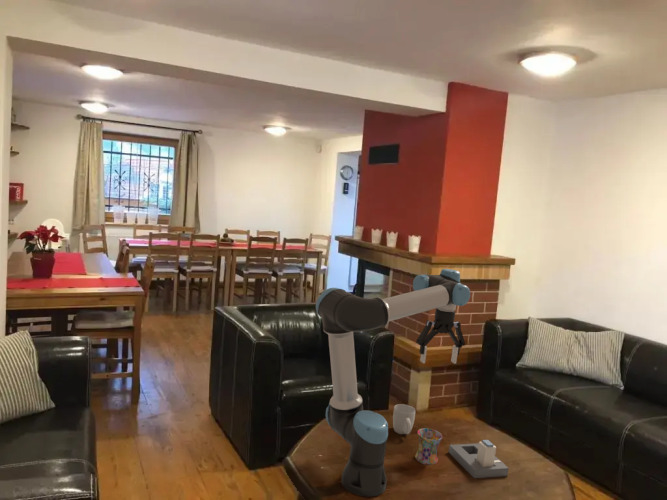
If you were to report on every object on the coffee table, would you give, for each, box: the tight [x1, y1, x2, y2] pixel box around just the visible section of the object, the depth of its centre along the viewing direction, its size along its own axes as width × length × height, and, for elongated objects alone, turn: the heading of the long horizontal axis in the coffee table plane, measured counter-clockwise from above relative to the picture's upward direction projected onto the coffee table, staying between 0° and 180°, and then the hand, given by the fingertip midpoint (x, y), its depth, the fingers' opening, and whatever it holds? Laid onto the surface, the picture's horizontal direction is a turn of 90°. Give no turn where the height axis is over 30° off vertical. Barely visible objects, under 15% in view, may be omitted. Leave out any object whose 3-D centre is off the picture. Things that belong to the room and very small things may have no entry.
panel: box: [448, 442, 510, 479], centre depth 194 cm, size 14×18×4 cm
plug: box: [476, 439, 497, 467], centre depth 189 cm, size 4×4×11 cm
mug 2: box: [414, 427, 443, 466], centre depth 195 cm, size 12×9×11 cm
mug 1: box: [392, 403, 416, 435], centre depth 214 cm, size 13×9×10 cm
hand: (438, 362), depth 201 cm, fingers open, 13 cm apart
